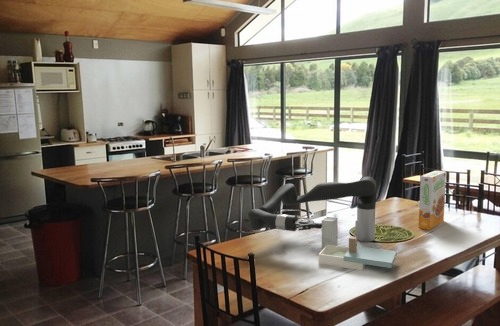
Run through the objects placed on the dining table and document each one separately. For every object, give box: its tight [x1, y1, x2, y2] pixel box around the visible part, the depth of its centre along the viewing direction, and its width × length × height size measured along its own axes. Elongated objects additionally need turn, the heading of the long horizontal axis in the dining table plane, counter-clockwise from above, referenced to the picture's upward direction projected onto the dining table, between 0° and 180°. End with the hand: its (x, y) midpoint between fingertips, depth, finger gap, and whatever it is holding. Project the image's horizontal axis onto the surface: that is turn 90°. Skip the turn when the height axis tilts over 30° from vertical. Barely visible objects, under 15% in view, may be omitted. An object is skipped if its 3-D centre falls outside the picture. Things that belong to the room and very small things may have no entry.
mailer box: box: [318, 245, 367, 271], centre depth 209 cm, size 20×14×4 cm
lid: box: [344, 235, 398, 269], centre depth 203 cm, size 20×16×9 cm
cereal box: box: [418, 170, 447, 231], centre depth 262 cm, size 22×6×30 cm, turn 138°
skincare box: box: [321, 216, 339, 250], centre depth 227 cm, size 8×6×15 cm
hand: (321, 226), depth 211 cm, fingers closed
